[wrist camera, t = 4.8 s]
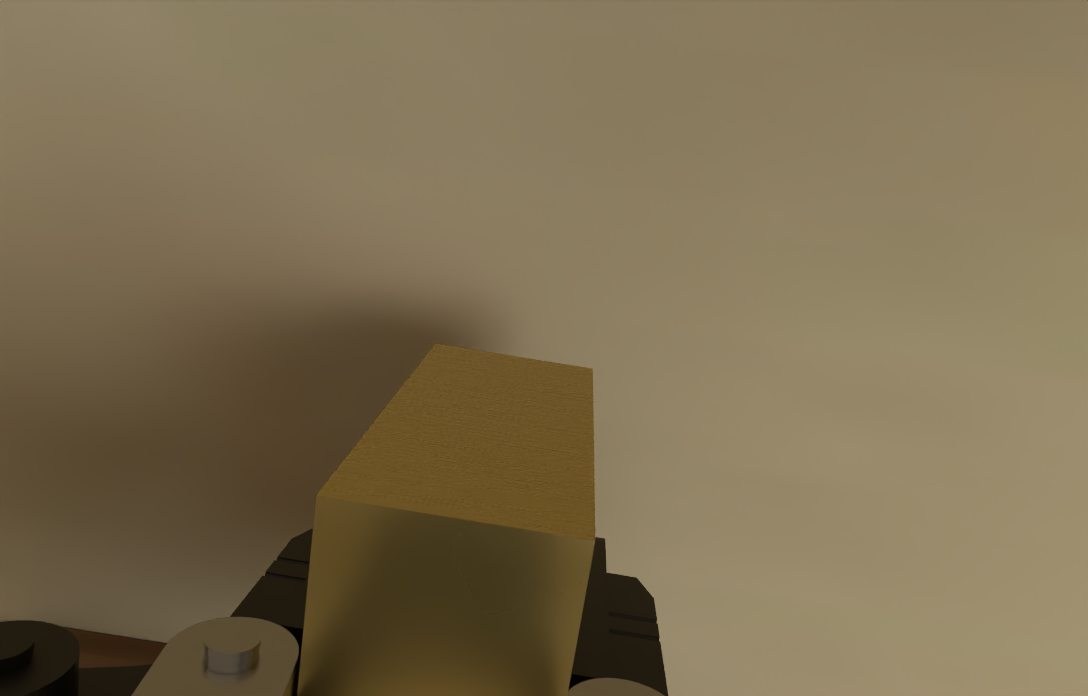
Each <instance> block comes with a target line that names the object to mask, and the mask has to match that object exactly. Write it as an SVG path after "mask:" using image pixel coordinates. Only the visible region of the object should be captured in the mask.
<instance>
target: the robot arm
mask: <svg viewBox="0 0 1088 696" xmlns="http://www.w3.org/2000/svg"><path fill="white" fill-rule="evenodd" d="M312 533H313V528H312V529H310V530H308V531H306V532H304V533H302V534H300V535H298V536H296V537H294V538H292V539H291V541H290V542H289V543H288V544H287V546H286V547H285V548H284V549H283V551H282V552H281V553H280V555H279V556H278V558H277V561H274V562H273V563H272V565H271V566H270V567H269V568H268V570H267V571H266V573H265V576H262V577H261V578H260V580H259V581H258V582H257V583H256V585H255V586H254V587H253V588H252V590H251V591H250V592H249V594H248V595H247V596H246V597H245V599H244V600H243V601H242V602H241V604H240V605H239V606H238V607H237V609H236V610H235V611H234V612H233V614H232V615H231V616H230V617H225V618H217V619H213V620H208V621H204V622H201V623H198V624H195V625H193V626H191V627H188V628H186V629H184V630H183V631H181V632H179V633H178V634H177V635H175V636H174V637H173V638H172V639H171V640H170V641H169V642H168V643H167V644H166V646H165V647H164V649H163V650H162V652H161V653H160V654H159V656H158V657H157V659H156V660H155V662H154V663H153V664H148V665H139V666H122V667H97V668H79V656H80V647H79V642H78V640H77V639H76V637H75V636H74V635H73V634H72V633H71V632H70V631H68V630H66V629H64V628H63V627H60V626H57V625H54V624H51V623H46V622H39V621H6V622H0V696H297V692H298V681H299V671H300V660H301V650H302V639H303V629H304V618H305V607H306V597H307V586H308V576H309V565H310V555H311V544H312ZM656 622H657V617H656V610H655V604H654V598H653V597H652V596H651V594H650V593H649V592H648V591H647V590H646V588H645V587H644V586H643V585H642V584H641V582H640V581H639V580H638V579H637V578H635V577H629V576H623V575H617V574H611V573H606V550H605V539H604V538H598V537H595V545H594V551H593V556H592V562H591V567H590V573H589V578H588V584H587V589H586V595H585V601H584V606H583V612H582V617H581V623H580V628H579V634H578V639H577V645H576V650H575V656H574V661H573V667H572V672H571V678H570V683H569V689H568V694H567V696H668V691H667V685H666V678H665V671H664V664H663V658H662V651H661V644H660V642H659V631H658V624H656Z"/></svg>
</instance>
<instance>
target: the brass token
mask: <svg viewBox="0 0 1088 696" xmlns="http://www.w3.org/2000/svg"><path fill="white" fill-rule="evenodd" d="M594 545H595V491H594V426H593V369H591V368H585V367H579V366H572V365H566V364H560V363H554V362H547V361H541V360H535V359H529V358H522V357H516V356H510V355H504V354H497V353H491V352H485V351H479V350H472V349H466V348H460V347H454V346H447V345H441V344H435V345H434V346H433V347H432V349H431V350H430V351H429V353H428V354H427V355H426V356H425V358H424V359H423V360H422V361H421V363H420V364H419V365H418V367H417V368H416V369H415V370H414V372H413V373H412V374H411V375H410V377H409V378H408V379H407V381H406V382H405V383H404V384H403V386H402V387H401V388H400V389H399V391H398V392H397V393H396V394H395V396H394V397H393V398H392V400H391V401H390V402H389V403H388V405H387V406H386V407H385V408H384V410H383V411H382V412H381V414H380V415H379V416H378V417H377V419H376V420H375V421H374V422H373V424H372V425H371V426H370V428H369V429H368V430H367V431H366V433H365V434H364V435H363V436H362V438H361V439H360V440H359V441H358V443H357V444H356V445H355V447H354V448H353V449H352V450H351V452H350V453H349V454H348V455H347V457H346V458H345V459H344V461H343V462H342V463H341V464H340V466H339V467H338V468H337V469H336V471H335V472H334V473H333V475H332V476H331V477H330V478H329V480H328V481H327V482H326V483H325V485H324V486H323V487H322V488H321V490H320V491H319V492H318V494H317V495H316V502H315V512H314V523H313V533H312V544H311V555H310V565H309V576H308V586H307V597H306V607H305V618H304V629H303V639H302V650H301V660H300V671H299V681H298V692H297V696H567V694H568V689H569V683H570V678H571V672H572V667H573V661H574V656H575V650H576V645H577V639H578V634H579V628H580V623H581V617H582V612H583V606H584V601H585V595H586V589H587V584H588V578H589V573H590V567H591V562H592V556H593V551H594Z"/></svg>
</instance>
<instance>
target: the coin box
mask: <svg viewBox="0 0 1088 696" xmlns="http://www.w3.org/2000/svg"><path fill="white" fill-rule="evenodd" d="M64 629H66V630H68V631H70V632H71V633H72V634H73V635H74V636H75V637H76V639H77V640H78V642H79V647H80V656H79V668H97V667H122V666H139V665H148V664H153V663H154V662H155V660H156V659H157V657H158V656H159V654H160V653H161V652H162V650H163V649H164V647H165V646H166V644H163V643H157V642H150V641H144V640H138V639H131V638H125V637H119V636H112V635H106V634H100V633H93V632H87V631H81V630H74V629H68V628H64Z"/></svg>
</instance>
